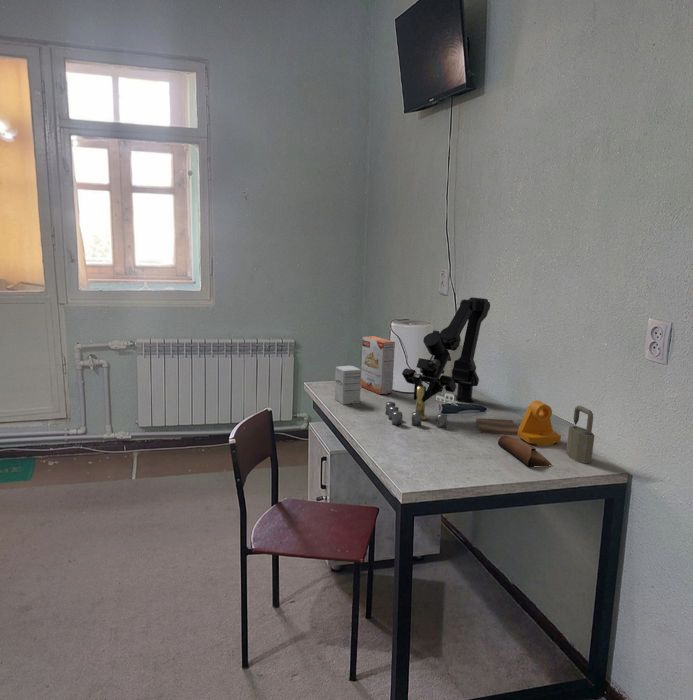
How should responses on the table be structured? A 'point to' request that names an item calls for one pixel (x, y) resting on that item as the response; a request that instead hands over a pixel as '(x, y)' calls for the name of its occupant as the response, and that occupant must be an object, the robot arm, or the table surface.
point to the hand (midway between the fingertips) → (418, 400)
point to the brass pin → (419, 403)
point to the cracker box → (377, 364)
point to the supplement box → (347, 384)
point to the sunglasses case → (523, 451)
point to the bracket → (538, 425)
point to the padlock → (581, 438)
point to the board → (497, 426)
